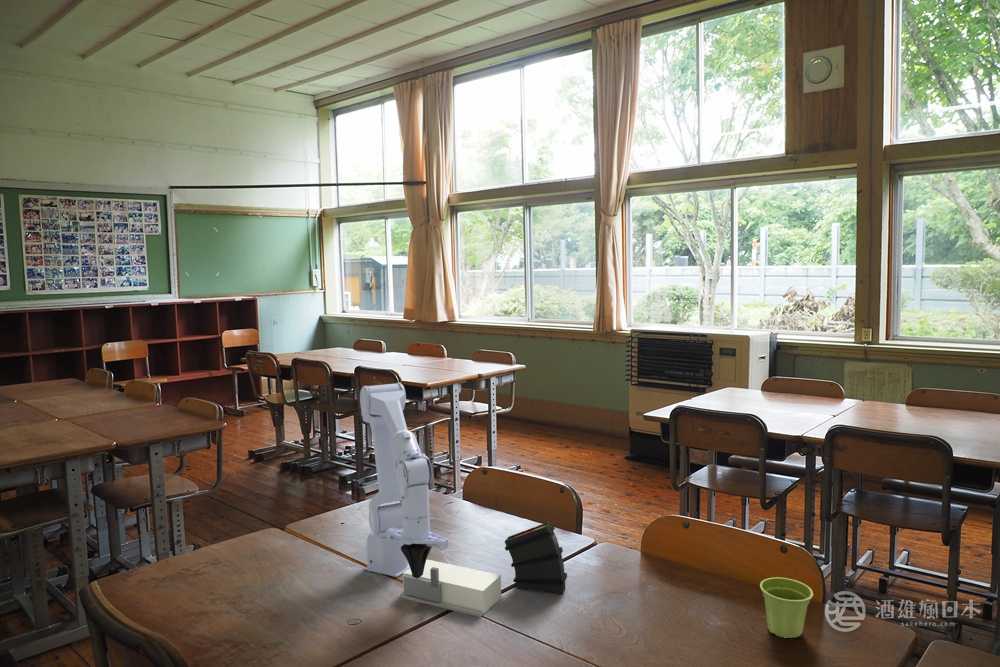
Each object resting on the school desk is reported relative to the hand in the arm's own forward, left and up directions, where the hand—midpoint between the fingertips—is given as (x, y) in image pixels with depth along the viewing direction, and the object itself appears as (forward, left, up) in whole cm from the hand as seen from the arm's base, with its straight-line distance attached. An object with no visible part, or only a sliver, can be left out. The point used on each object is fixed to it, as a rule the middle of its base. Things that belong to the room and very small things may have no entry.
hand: (417, 575), depth 147 cm
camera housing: (+5, +5, -6) cm, 9 cm away
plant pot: (+71, +20, -6) cm, 74 cm away
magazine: (+20, +16, -6) cm, 27 cm away
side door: (+1, 0, -5) cm, 5 cm away
